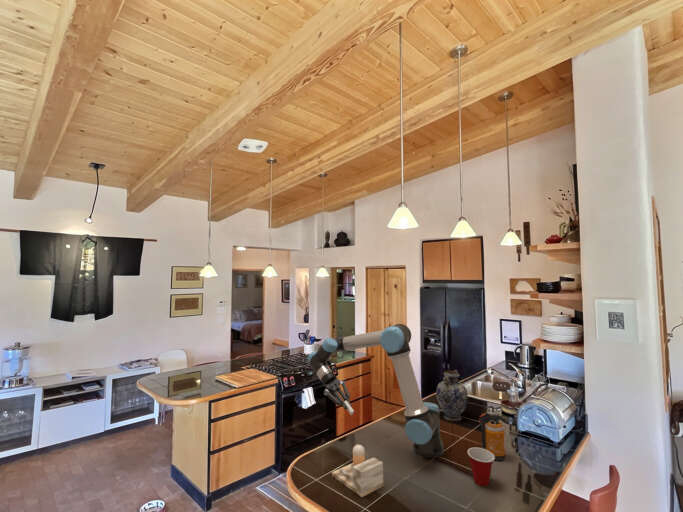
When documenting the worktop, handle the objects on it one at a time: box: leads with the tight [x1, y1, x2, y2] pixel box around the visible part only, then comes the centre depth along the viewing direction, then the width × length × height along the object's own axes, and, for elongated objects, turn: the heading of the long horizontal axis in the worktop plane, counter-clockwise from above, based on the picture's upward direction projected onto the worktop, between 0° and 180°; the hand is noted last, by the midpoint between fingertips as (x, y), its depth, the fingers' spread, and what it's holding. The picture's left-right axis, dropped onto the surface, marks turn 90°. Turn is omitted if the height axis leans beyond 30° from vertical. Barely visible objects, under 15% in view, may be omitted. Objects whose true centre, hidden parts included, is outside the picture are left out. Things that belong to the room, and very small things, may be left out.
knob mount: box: [331, 457, 384, 498], centre depth 152 cm, size 20×12×10 cm, turn 38°
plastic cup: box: [467, 446, 495, 487], centre depth 149 cm, size 11×11×12 cm
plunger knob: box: [352, 444, 366, 466], centre depth 151 cm, size 5×5×14 cm
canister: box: [479, 412, 507, 461], centre depth 170 cm, size 9×11×20 cm
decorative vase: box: [435, 369, 469, 422], centre depth 218 cm, size 21×19×28 cm
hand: (352, 413), depth 171 cm, fingers closed
